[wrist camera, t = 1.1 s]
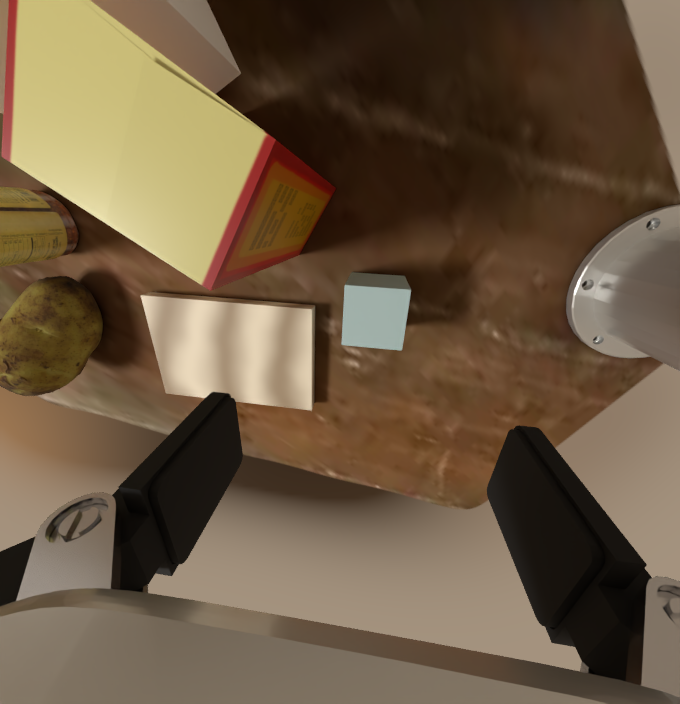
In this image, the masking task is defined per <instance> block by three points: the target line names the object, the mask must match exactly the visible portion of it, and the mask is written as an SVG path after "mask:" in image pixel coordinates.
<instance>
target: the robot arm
mask: <svg viewBox="0 0 680 704" xmlns="http://www.w3.org/2000/svg"><path fill="white" fill-rule="evenodd" d="M583 282H584V283H583ZM566 313H567V317H568V321H569V324H570V326H571V328H572V330H573V332H574V333H575V335H576V336H577V337H578V338H579V339H580V340H581V341H582V342H584V343H585V344H587V345H588V346H590V347H591V348H593V349H595V350H597V351H599V352H601V353H603V354H606V355H610V356H614V357H621V358H642V357H649V356H651V357H653V358H655V359H657V360H659V361H661V362H663V363H665V364H667V365H669V366H671V367H673V368H675V369H677V370H679V371H680V204H679V205H672V206H665V207H662V208H659V209H656V210H652V211H649V212H646V213H644V214H642V215H640V216H638V217H636V218H633V219H631V220H629V221H627V222H626V223H624V224H623V225H621V226H620V227H618V228H617V229H615V230H613V231H612V232H611V233H610V234H608V235H607V236H606V237H605V238H604V239H603V240H601V241H600V242H599V243H598V244H597V245H596V246H595V247H594V248H593V249H592V250H591V252H590V253H589V254H588V255H587V256H586V257H585V259H584V260H583V262H582V263H581V265H580V266H579V268H578V269H577V271H576V273H575V275H574V277H573V279H572V282H571V284H570V287H569V291H568V295H567V301H566ZM242 456H243V454H242V446H241V439H240V431H239V424H238V416H237V409H236V402H235V399H234V398H231V395H230V394H229V393H221V392H211V393H210V394H209V395H208V396H207V397H206V398H205V399H204V400H203V401H202V402H201V403H200V404H199V405H198V406H197V407H196V408H195V409H194V410H193V411H192V412H191V413H190V414H189V415H188V416H187V417H186V418H185V420H184V421H183V422H182V423H181V424H180V425H179V426H178V427H177V428H176V429H175V430H174V431H173V432H172V433H171V434H170V435H169V436H168V437H167V438H166V439H165V440H164V441H163V442H162V443H161V444H160V445H159V446H158V447H157V448H156V449H155V450H154V451H153V452H152V453H151V454H150V455H149V456H148V457H147V458H146V459H145V460H144V461H143V463H141V464H140V465H139V466H138V467H137V469H136V470H135V471H134V472H133V473H132V474H131V475H130V476H129V477H128V478H127V479H126V480H125V481H124V482H123V483H122V484H121V485H120V486H119V489H118V490H117V491H116V492H115V493H114V494H113V495H110V494H108V493H104V492H99V493H91V494H87V495H84V496H81V497H78V498H76V499H74V500H72V501H70V502H68V503H66V504H65V505H63V506H61V507H60V508H58V509H57V510H56V511H55V512H54V513H52V514H51V515H50V516H49V517H48V518H47V519H46V520H45V521H44V523H43V524H42V525H41V526H40V528H39V530H38V532H37V534H36V536H35V537H33V538H31V539H29V540H26V541H24V542H22V543H19V544H17V545H15V546H12V547H10V548H8V549H6V550H3V551H1V552H0V704H680V581H677V580H674V579H671V578H668V577H658V576H656V577H654V578H652V577H651V576H650V575H649V574H648V572H647V571H646V570H645V566H646V563H645V562H644V561H643V559H642V558H641V557H640V556H639V554H638V553H637V552H636V551H635V549H634V548H633V547H632V546H631V544H630V543H629V542H628V540H627V539H626V538H625V537H624V536H623V534H622V533H621V532H620V530H619V529H618V528H617V526H616V525H615V524H614V523H613V522H612V520H611V519H610V518H609V516H608V515H607V514H606V512H605V511H604V510H603V509H602V507H601V506H600V505H599V504H598V503H597V501H596V500H595V498H594V497H593V496H592V495H591V494H590V492H589V491H588V490H587V488H586V487H585V486H584V484H583V483H582V482H581V481H580V479H579V478H578V477H577V476H576V474H575V473H574V472H573V471H572V470H571V468H570V467H569V465H568V464H567V463H566V462H565V460H564V459H563V458H562V457H561V455H560V454H559V453H558V452H557V450H556V449H555V448H554V446H553V445H552V444H551V443H550V441H549V440H548V439H547V437H546V436H545V435H544V434H543V432H542V431H541V430H540V429H539V428H536V427H527V426H516V427H515V428H514V430H513V429H512V430H510V431H509V432H508V435H507V437H506V440H505V442H504V445H503V448H502V450H501V453H500V455H499V458H498V460H497V463H496V466H495V468H494V471H493V473H492V476H491V479H490V481H489V484H488V487H487V495H488V499H489V501H490V504H491V506H492V509H493V511H494V513H495V516H496V519H497V521H498V524H499V526H500V529H501V531H502V534H503V536H504V539H505V541H506V544H507V546H508V549H509V551H510V554H511V556H512V559H513V561H514V564H515V566H516V569H517V571H518V573H519V576H520V579H521V581H522V583H523V586H524V589H525V591H526V594H527V596H528V599H529V601H530V604H531V606H532V609H533V611H534V613H535V616H536V618H537V620H538V621H539V623H540V624H541V625H542V626H545V627H546V630H547V632H548V635H549V637H550V639H551V642H552V643H556V644H562V645H568V646H573V647H576V649H577V652H578V654H579V656H580V658H581V660H582V663H581V668H580V672H579V671H573V670H569V669H564V668H559V667H555V666H550V665H545V664H541V663H535V662H530V661H525V660H519V659H514V658H509V657H503V656H498V655H493V654H487V653H482V652H477V651H471V650H466V649H461V648H455V647H450V646H445V645H439V644H434V643H429V642H424V641H417V640H413V639H407V638H402V637H396V636H391V635H385V634H379V633H374V632H369V631H363V630H358V629H352V628H347V627H341V626H336V625H330V624H324V623H319V622H314V621H308V620H302V619H297V618H291V617H285V616H280V615H275V614H268V613H262V612H257V611H251V610H246V609H240V608H234V607H229V606H223V605H218V604H212V603H206V602H200V601H195V600H189V599H182V598H175V597H169V596H162V595H156V594H149V593H148V584H149V582H150V581H151V579H152V578H153V576H154V574H155V573H157V574H163V575H168V576H172V575H173V573H174V572H175V570H176V568H177V566H178V565H179V564H182V563H184V562H185V561H186V559H187V558H188V556H189V555H190V553H191V551H192V549H193V548H194V546H195V544H196V542H197V540H198V539H199V537H200V535H201V533H202V532H203V530H204V528H205V526H206V524H207V523H208V521H209V519H210V517H211V516H212V514H213V512H214V510H215V509H216V507H217V505H218V503H219V502H220V500H221V498H222V496H223V495H224V493H225V491H226V489H227V487H228V486H229V484H230V482H231V480H232V478H233V477H234V475H235V473H236V472H237V469H238V468H239V466H240V464H241V461H242Z"/></svg>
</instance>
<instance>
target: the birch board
mask: <svg viewBox="0 0 680 704" xmlns="http://www.w3.org/2000/svg"><path fill="white" fill-rule="evenodd" d="M141 298H142V302H143V306H144V310H145V314H146V318H147V322H148V325H149V329H150V333H151V337H152V341H153V345H154V349H155V353H156V356H157V360H158V364H159V368H160V372H161V376H162V380H163V384H164V387H165V391H166V393H168V394H177V395H185V396H194V397H202V398H206V397H207V396H208V395H209V394H210V393H211V392H221V393H229V394H230V395H231V398H234V399H235V401H236V402H245V403H254V404H262V405H271V406H279V407H288V408H296V409H305V410H312V408H313V405H314V386H315V305H306V304H294V303H281V302H269V301H256V300H244V299H232V298H219V297H207V296H195V295H182V294H170V293H158V292H150V293H146V294H143V295H141Z"/></svg>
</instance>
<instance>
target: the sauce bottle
mask: <svg viewBox="0 0 680 704" xmlns="http://www.w3.org/2000/svg"><path fill="white" fill-rule="evenodd" d="M78 236H79V232H78V230H77V227H76V225H75V222H74V221H73V218H72V216H71V214H70V213H69V211H68V210H67V208H66V207H65V206H64V205H63V204H62V203H61V202H59V201H58V200H57V199H55V198H53V197H52V196H50V195H49V194H46V193H44V192H41V191H37V190H26V189H22V188H12V187H0V267H2V266H8V265H14V264H21V263H27V262H34V261H42V260H48V259H54V258H57V257H59V256H62V255H67V254H70V253H71V252H72V251H73V250H74V249H75V247H76V245H77V243H78Z"/></svg>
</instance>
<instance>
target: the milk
mask: <svg viewBox="0 0 680 704" xmlns="http://www.w3.org/2000/svg"><path fill="white" fill-rule="evenodd" d="M90 1H92V2H93V3H94V4H96V5H97V6H98V7H100V8H101V9H102V10H104V11H105V12H106V13H108V14H109V15H110V16H112V17H113V18H114V19H116V20H117V21H118V22H120V23H121V24H122V25H124V26H125V27H126V28H128V29H129V30H130V31H132V32H133V33H134V34H136V35H137V36H138V37H140V38H141V39H142V40H144V41H145V42H146V43H148V44H149V45H150V46H152V47H153V48H154V49H156V50H157V51H158V52H160V53H161V54H162V55H164V56H165V57H166V58H168V59H169V60H170V61H172V62H173V63H174V64H176V65H177V66H178V67H180V68H181V69H182V70H184V71H185V72H186V73H188V74H189V75H190V76H192V77H193V78H194V79H196V80H197V81H198V82H200V83H201V84H202V85H204V86H205V87H206V88H208V89H209V90H210V91H212V92H213V93H214V94H216V93H217V92H219V91H220V90H221V89H222V88H224V87H225V86H226V85H227V84H229V83H230V82H231V81H233V80H234V79H235V78H236V77H238V76H239V75H240V74H241V72H240V70H239V68H238V66H237V64H236V62H235V60H234V57H233V55H232V53H231V51H230V49H229V47H228V45H227V43H226V40H225V38H224V36H223V34H222V32H221V30H220V28H219V25H218V23H217V21H216V19H215V17H214V15H213V13H212V11H211V8H210V6H209V4H208V2H207V0H90ZM8 7H9V0H0V113H2V114H4V93H5V72H6V50H7V29H8Z"/></svg>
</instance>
